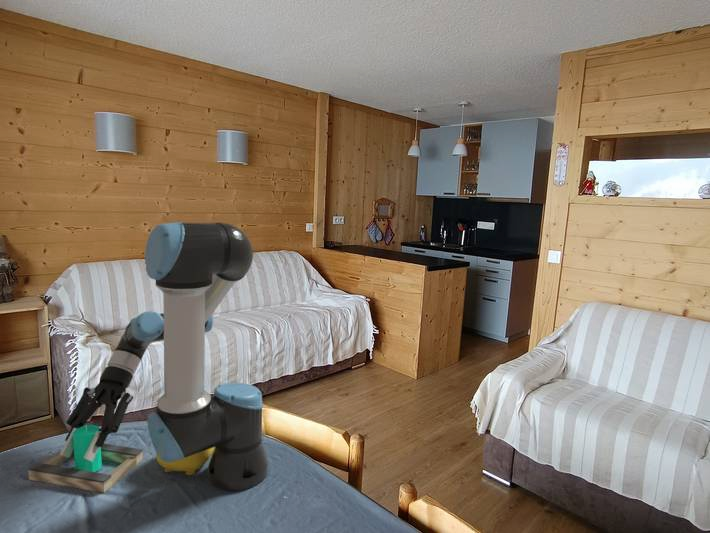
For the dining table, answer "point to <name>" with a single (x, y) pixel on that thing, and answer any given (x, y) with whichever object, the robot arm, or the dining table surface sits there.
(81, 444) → the candle
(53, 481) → the rectangular wooden frame
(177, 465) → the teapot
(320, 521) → the dining table surface
